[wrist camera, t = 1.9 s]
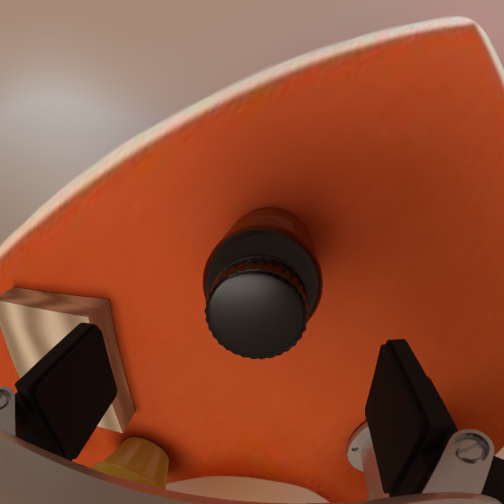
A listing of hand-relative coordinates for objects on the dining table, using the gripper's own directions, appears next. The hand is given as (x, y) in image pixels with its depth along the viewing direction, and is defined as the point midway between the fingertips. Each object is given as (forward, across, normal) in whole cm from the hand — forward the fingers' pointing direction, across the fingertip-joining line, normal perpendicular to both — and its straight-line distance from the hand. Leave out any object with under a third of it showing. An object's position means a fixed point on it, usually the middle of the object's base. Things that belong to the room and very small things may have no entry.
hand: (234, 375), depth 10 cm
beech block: (+17, +23, +14) cm, 31 cm away
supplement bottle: (+17, 0, 0) cm, 17 cm away
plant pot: (+17, +16, +30) cm, 37 cm away
